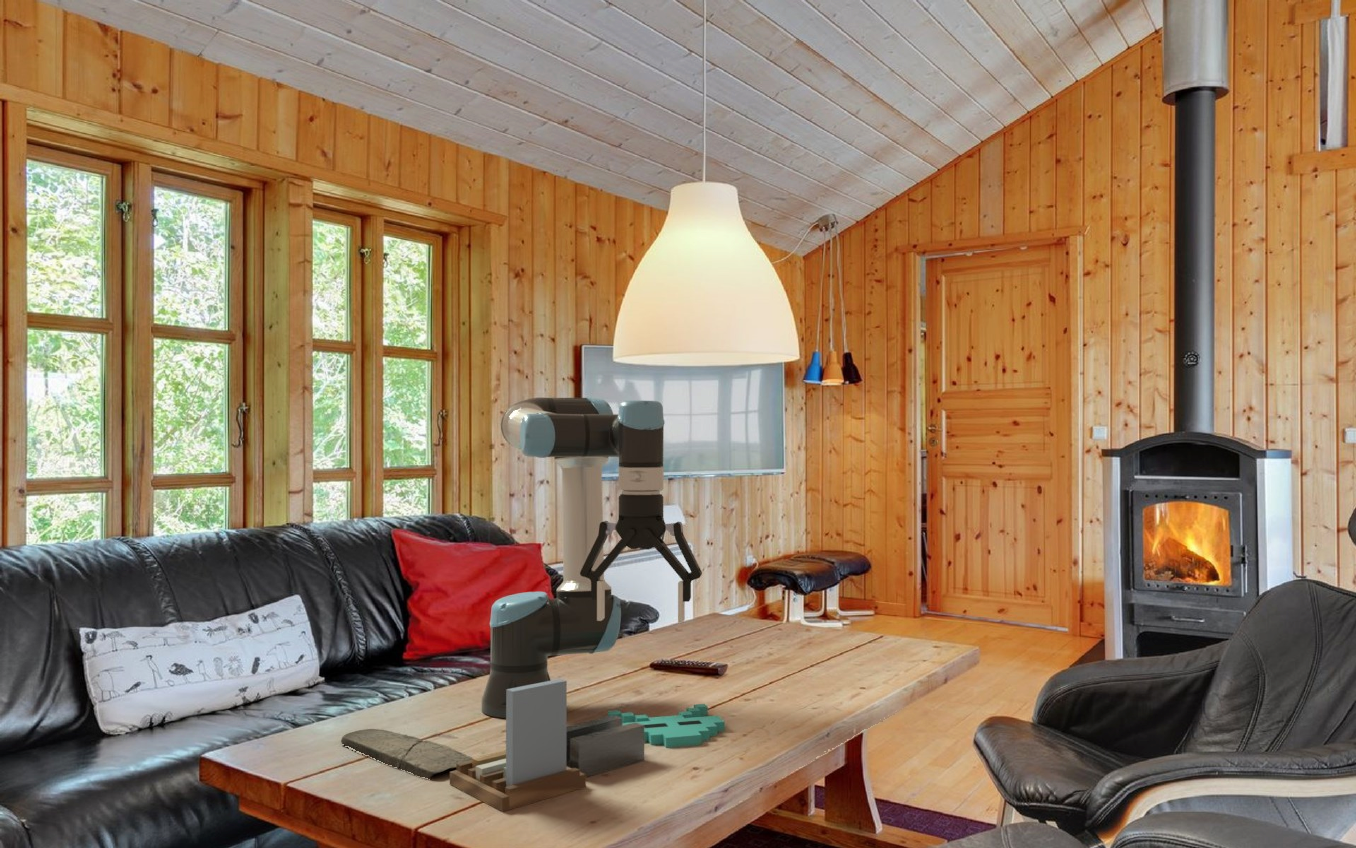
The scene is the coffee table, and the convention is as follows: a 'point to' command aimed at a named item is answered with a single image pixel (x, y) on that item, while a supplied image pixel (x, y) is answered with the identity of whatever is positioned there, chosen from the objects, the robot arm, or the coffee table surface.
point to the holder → (603, 745)
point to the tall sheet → (535, 731)
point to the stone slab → (405, 751)
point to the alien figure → (676, 726)
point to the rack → (514, 786)
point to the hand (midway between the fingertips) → (640, 620)
